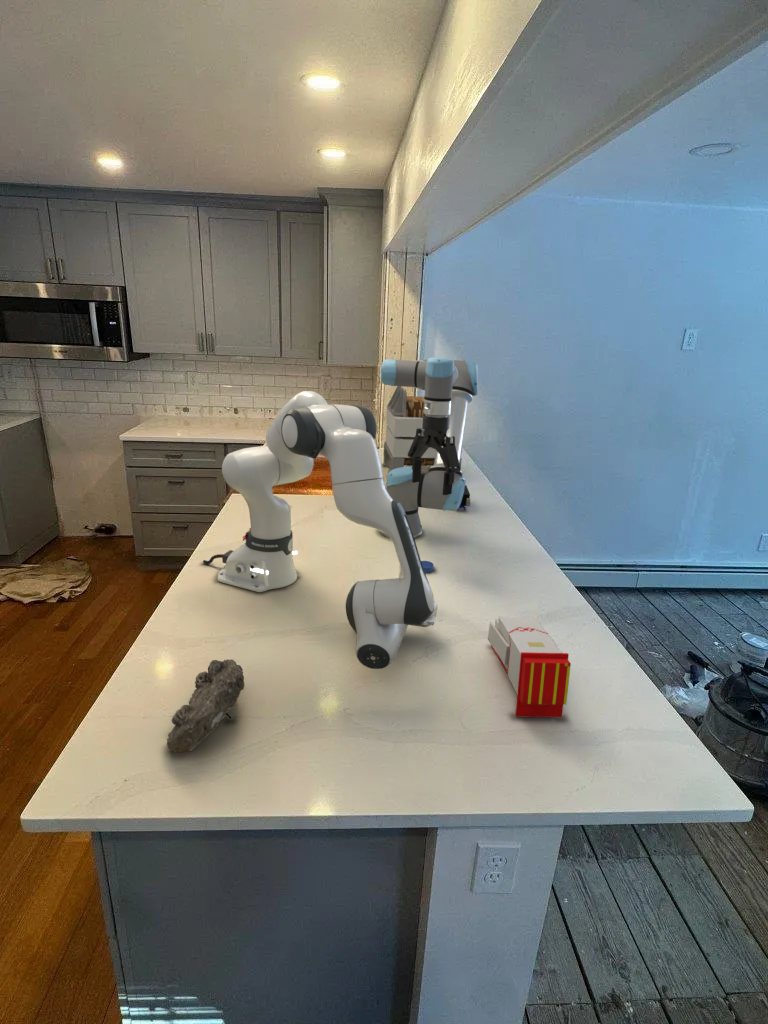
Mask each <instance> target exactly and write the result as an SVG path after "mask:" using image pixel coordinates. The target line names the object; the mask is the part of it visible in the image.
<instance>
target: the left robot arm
mask: <svg viewBox="0 0 768 1024" xmlns="http://www.w3.org/2000/svg"><path fill="white" fill-rule="evenodd" d="M377 427H378V426H377V421H376V418H375V416H374V413H372V411H371V410H370V409H369V408H367V407H365V406H362V405H357V404H340V403H339V404H338V403H337V404H336V403H329V404H328V402H327V400H326V399H325V397H323V396H322V395H321V394H319V393H318V392H316V391H312V390H303V391H300V392H298V393H296V394H295V395H294V396H293V397H291V398H290V400H289V401H287V402H286V403H285V405H284V406H283V407H282V408H281V409H280V411H279V412H278V414H277V415H276V416H275V418H274V419H273V421H272V423H271V424H270V425H269V427H268V429H267V430H266V434H265V435H266V436H265V442H266V444H265V445H260V446H249V447H244V448H240V449H238V450H234V451H232V452H230V453H227V454H226V456H225V457H224V459H223V461H222V465H221V473H222V477H223V480H224V481H225V483H226V484H227V485H228V486H229V487H230V488H231V489H232V490H235V491H236V492H237V493H239V494H240V495H241V496H242V497H243V499H244V500H245V502H246V504H247V507H248V512H249V521H250V528H248V531H246V532H245V533H244V535H243V536H242V541H243V542H244V541H245V542H244V543H243V544H241V545H240V546H238V547H237V548H235V550H231V549H229V550H228V551H226V552H224V553H222V554H221V553H219V554H218V553H217V554H214V555H212V556H211V557H210V558H209V560H206V559H203V560H202V563H203V564H205V565H210V564H212V563H213V561H214V560H215V559H220V558H221V559H222V564H225V565H224V566H223V567H222V568H221V569H220V570H219V572H218V573H217V581H218V582H219V583H223V584H227V585H230V586H235V587H239V588H242V589H246V590H249V591H252V592H256V593H265V592H266V591H269V590H273V589H274V590H275V589H281V588H284V587H287V586H290V585H292V584H294V583H295V582H296V581H297V579H298V573H297V571H296V566H295V562H294V557H293V556H295V555H298V550H294V551H293V549H294V538H293V537H294V535H293V534H294V533H293V530H292V512H291V507H290V504H289V503H288V502H287V501H286V500H285V499H284V498H282V497H280V496H277V495H274V492H273V487H275V486H280V485H286V484H291V483H292V484H293V483H295V482H298V481H301V480H303V479H305V478H307V477H309V476H310V475H311V474H312V472H313V469H314V465H315V464H314V462H315V461H314V460H315V459H317V457H318V456H322V457H324V458H325V459H327V461H328V463H329V467H330V478H331V479H330V480H331V488H332V494H333V499H334V504H335V507H336V509H337V510H338V512H339V513H340V514H341V515H342V516H343V517H344V518H346V519H347V520H348V521H350V522H352V523H355V524H357V525H359V526H360V525H361V526H365V527H368V528H372V529H375V530H378V531H379V530H380V531H382V532H384V533H385V534H387V535H388V536H389V537H390V538H391V539H390V538H389V539H390V540H391V542H392V543H393V547H394V549H395V550H394V551H395V553H396V557H397V560H398V563H399V564H400V566H401V570H402V573H403V577H401V578H399V577H395V578H384V579H379V578H378V579H368V580H366V579H365V580H358V581H356V582H354V584H353V585H352V586H351V588H350V590H349V592H348V594H347V596H346V600H345V614H346V618H347V621H348V623H349V626H350V627H351V629H352V630H353V632H354V633H355V634H356V648H355V655H356V658H357V660H358V662H359V663H360V664H361V665H362V666H364V667H366V668H368V669H371V670H381V669H382V670H383V669H385V668H386V667H388V666H390V665H391V664H392V662H393V661H394V660H395V658H396V656H397V654H398V653H399V650H400V648H401V645H402V640H403V638H404V636H405V634H406V631H407V628H408V626H413V627H421V628H428V627H430V626H434V625H435V623H436V617H437V612H438V603H437V602H436V601H435V597H434V592H433V589H432V587H431V585H430V583H429V580H428V577H427V575H426V573H425V572H424V569H423V566H422V563H421V561H422V559H421V557H420V553H419V550H418V547H417V543H416V540H415V539H414V536H413V533H412V530H411V527H410V524H409V521H408V518H407V516H406V513H405V511H404V509H403V507H402V505H401V504H400V503H399V502H396V501H394V500H393V499H392V498H391V497H390V495H389V494H388V492H387V490H386V483H385V480H384V471H383V466H382V462H381V457H380V454H379V450H378V447H377V444H376V441H375V439H376V436H377V431H378V429H377ZM375 479H376V480H375Z"/></svg>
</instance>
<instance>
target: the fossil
mask: <svg viewBox="0 0 768 1024" xmlns="http://www.w3.org/2000/svg"><path fill="white" fill-rule="evenodd" d="M243 670H244V669H243V667H242V665H240V664H237V662H236V661H235V660H234V659H232V658H231V659H227V658H226V659H224V660H223V661H222V660H217V659H212V660H211V661H210V663H209V665H208V666H207V671H201V672H199V673H198V674H197V675H196V676H195V680H194V684H195V685H194V687H195V689H194V690H193V693H192V694H191V697H190V698H189V700H188V704H184V705H182V706H181V707H180V709H177V710H176V711H175V713H174V715H173V716H172V718H171V723H172V724H173V727H172V730H171V731H170V732H168V734H167V738H166V741H167V742H166V745H167V749H168V750H169V751H173V752H174V753H176V754H178V753H182V752H188V751H189V752H192V751H193V750H195V748H196V747H197V746H199V744H200V743H201V742H203V741H204V740H205V739H206V738H207V737H208V736H209V735H210V734H211V733H212V732H214V730H215V729H217V727H218V726H219V724H220V722H221V721H222V720H223V719H224V718H225V716H226V717H227V719H229V720H233V717H232V715H230V714H229V710H230V709H231V708H234V706H235V704H236V703H237V702H238V699H239V697H240V695H241V693H242V691H243V690H245V689H244V688H245V675H244V671H243Z"/></svg>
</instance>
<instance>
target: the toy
mask: <svg viewBox="0 0 768 1024" xmlns="http://www.w3.org/2000/svg"><path fill="white" fill-rule="evenodd" d="M488 625H489V627H488V633H487V641H488V642H489V644H490V646H491V647H490V648H491V649H492V650H493V652H494V654H495V656H496V658H497V659H498V660H499V662H500V664H501V666H502V668H503V669H504V671H505V673H506V674H507V676H508V678H509V680H510V682H511V685H512V686H513V689H514V690H515V693H516V704H515V717H516V718H517V717H518V718H519V717H520V718H521V717H522V718H563V710H564V705H567V701H568V692H569V685H570V684H569V683H570V676H571V675H570V674H571V666H572V664H571V661H570V660H569V655H570V654H569V653H568V652H563V651H562V649H561V648H560V647H559V646H558V644H557V643H556V642H555V640H554V639H553V638H552V636H551V635H550V634H549V632H548V631H547V629H546V628H545V627H544V626H543V624H542V622H541V621H540V620H539V619H538V618H537V616H498V618H496V619H494V623H493V622H489V624H488Z"/></svg>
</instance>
